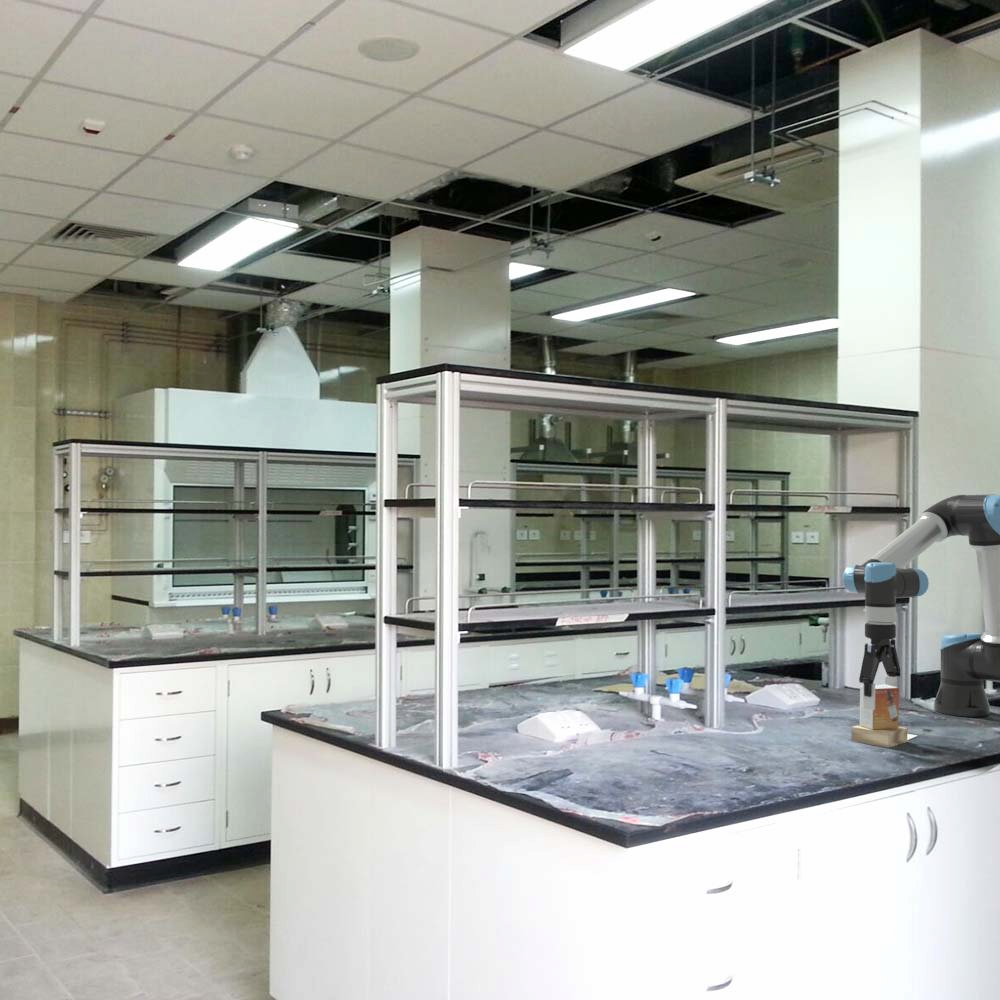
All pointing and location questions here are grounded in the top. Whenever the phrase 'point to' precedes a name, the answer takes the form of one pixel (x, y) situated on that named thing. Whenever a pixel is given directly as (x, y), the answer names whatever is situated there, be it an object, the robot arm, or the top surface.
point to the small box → (881, 708)
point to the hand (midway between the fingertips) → (880, 705)
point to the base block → (879, 736)
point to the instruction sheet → (911, 736)
